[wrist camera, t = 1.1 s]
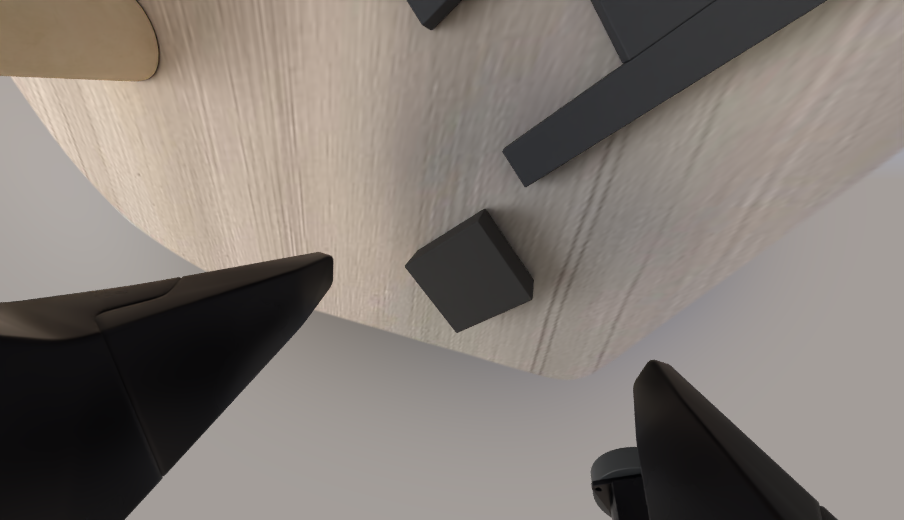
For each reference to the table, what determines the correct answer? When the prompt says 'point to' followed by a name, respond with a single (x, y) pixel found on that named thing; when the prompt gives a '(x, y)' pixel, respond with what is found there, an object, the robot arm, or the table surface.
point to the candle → (77, 40)
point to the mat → (639, 66)
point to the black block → (471, 273)
